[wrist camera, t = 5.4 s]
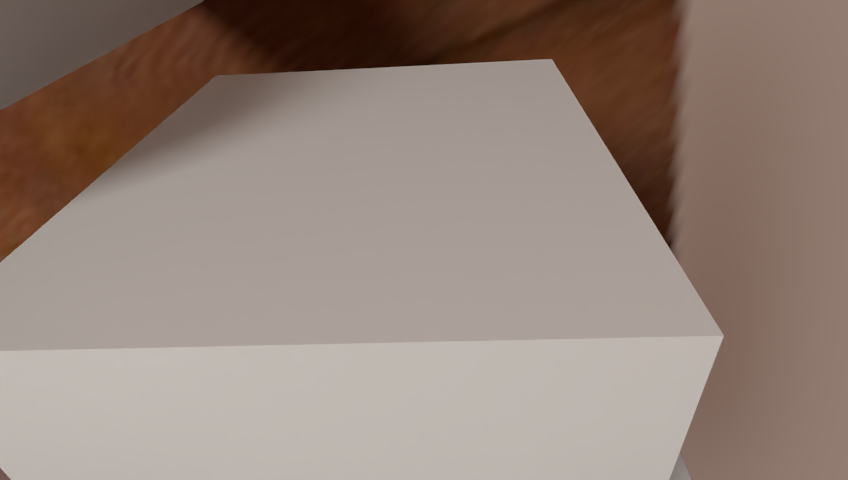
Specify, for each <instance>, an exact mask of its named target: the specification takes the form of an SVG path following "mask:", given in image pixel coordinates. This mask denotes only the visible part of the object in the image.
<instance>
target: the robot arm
mask: <svg viewBox="0 0 848 480" xmlns="http://www.w3.org/2000/svg"><path fill="white" fill-rule="evenodd" d="M669 480H692V477H691V475H690V473H689V471H688V468H687V466H686V463H685V461H684V459H683V456H682V454H681V452H680V453H679V455H678V458H677V461H676V463H675V466H674V469H673V471H672V474H671V476H670V479H669Z"/></svg>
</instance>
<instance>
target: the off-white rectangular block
mask: <svg viewBox="0 0 848 480" xmlns="http://www.w3.org/2000/svg"><path fill="white" fill-rule="evenodd" d="M723 337H724V335H723V334H722V332H721V330H720V329H719V327H718V325H717V324H716V322H715V321H714V319H713V317H712V316H711V314H710V312H709V311H708V309H707V308H706V306H705V305H704V303H703V301H702V300H701V298H700V296H699V295H698V293H697V292H696V290H695V289H694V287H693V285H692V284H691V282H690V281H689V279H688V277H687V276H686V274H685V272H684V271H683V269H682V268H681V266H680V264H679V263H678V261H677V260H676V258H675V256H674V255H673V253H672V251H671V250H670V248H669V247H668V245H667V243H666V242H665V240H664V239H663V237H662V235H661V234H660V232H659V231H658V229H657V227H656V226H655V224H654V223H653V221H652V219H651V218H650V216H649V215H648V213H647V211H646V210H645V208H644V207H643V205H642V203H641V202H640V200H639V199H638V197H637V195H636V194H635V192H634V190H633V189H632V187H631V186H630V184H629V182H628V181H627V179H626V178H625V176H624V174H623V173H622V171H621V170H620V168H619V166H618V165H617V163H616V162H615V160H614V158H613V157H612V155H611V154H610V152H609V150H608V149H607V147H606V146H605V144H604V142H603V141H602V139H601V138H600V136H599V134H598V133H597V131H596V129H595V128H594V126H593V125H592V123H591V121H590V120H589V118H588V117H587V115H586V113H585V112H584V110H583V109H582V107H581V105H580V104H579V102H578V101H577V99H576V97H575V96H574V94H573V93H572V91H571V89H570V88H569V86H568V85H567V83H566V81H565V80H564V78H563V77H562V75H561V73H560V72H559V70H558V68H557V67H556V65H555V64H554V62H553V60H552V59H543V60H523V61H503V62H483V63H463V64H443V65H423V66H403V67H384V68H364V69H344V70H324V71H304V72H284V73H264V74H245V75H225V76H215V77H214V78H213V79H212V80H211V81H209V82H208V83H207V84H206V85H205V86H204V87H203V88H201V89H200V90H199V91H198V92H197V93H196V94H194V95H193V96H192V97H191V98H190V99H189V100H188V101H186V102H185V103H184V104H183V105H182V106H181V107H179V108H178V109H177V110H176V111H175V112H174V113H173V114H171V115H170V116H169V117H168V118H167V119H166V120H164V121H163V122H162V123H161V124H160V125H159V126H158V127H156V128H155V129H154V130H153V131H152V132H151V133H149V134H148V135H147V136H146V137H145V138H144V139H143V140H141V141H140V142H139V143H138V144H137V145H136V146H134V147H133V148H132V149H131V150H130V151H129V152H127V153H126V154H125V155H124V156H123V157H122V158H121V159H119V160H118V161H117V162H116V163H115V164H114V165H112V166H111V167H110V168H109V169H108V170H107V171H106V172H104V173H103V174H102V175H101V176H100V177H99V178H97V179H96V180H95V181H94V182H93V183H92V184H91V185H89V186H88V187H87V188H86V189H85V190H84V191H82V192H81V193H80V194H79V195H78V196H77V197H76V198H74V199H73V200H72V201H71V202H70V203H69V204H67V205H66V206H65V207H64V208H63V209H62V210H61V211H59V212H58V213H57V214H56V215H55V216H54V217H52V218H51V219H50V220H49V221H48V222H47V223H46V224H44V225H43V226H42V227H41V228H40V229H39V230H37V231H36V232H35V233H34V234H33V235H32V236H31V237H29V238H28V239H27V240H26V241H25V242H24V243H22V244H21V245H20V246H19V247H18V248H17V249H16V250H14V251H13V252H12V253H11V254H10V255H9V256H7V257H6V258H5V259H4V260H3V261H2V262H1V263H0V468H1V469H2V470H3V471H4V472H5V473H6V474H7V475H8V476H9V478H10V479H11V480H669V479H670V476H671V474H672V471H673V469H674V466H675V463H676V461H677V458H678V455H679V453H680V450H681V448H682V445H683V442H684V439H685V437H686V434H687V432H688V429H689V426H690V424H691V421H692V419H693V416H694V413H695V411H696V408H697V405H698V403H699V400H700V397H701V395H702V392H703V390H704V387H705V384H706V382H707V379H708V376H709V374H710V371H711V369H712V366H713V363H714V361H715V358H716V355H717V353H718V350H719V348H720V345H721V342H722V340H723Z"/></svg>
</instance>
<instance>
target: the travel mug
mask: <svg viewBox="0 0 848 480" xmlns="http://www.w3.org/2000/svg"><path fill="white" fill-rule="evenodd" d="M203 1H205V0H0V110H2V109H4V108H6V107H8V106H9V105H11V104H13V103H15V102H17V101H19V100H21V99H22V98H24V97H26V96H28V95H30V94H32V93H34V92H35V91H37V90H39V89H41V88H43V87H45V86H47V85H48V84H50V83H52V82H54V81H56V80H58V79H60V78H62V77H63V76H65V75H67V74H69V73H71V72H73V71H75V70H76V69H78V68H80V67H82V66H84V65H86V64H88V63H89V62H91V61H93V60H95V59H97V58H99V57H101V56H102V55H104V54H106V53H108V52H110V51H112V50H114V49H115V48H117V47H119V46H121V45H123V44H125V43H127V42H129V41H130V40H132V39H134V38H136V37H138V36H140V35H142V34H143V33H145V32H147V31H149V30H151V29H153V28H155V27H156V26H158V25H160V24H162V23H164V22H166V21H168V20H169V19H171V18H173V17H175V16H177V15H179V14H181V13H182V12H184V11H186V10H188V9H190V8H192V7H194V6H196V5H197V4H199V3H201V2H203Z"/></svg>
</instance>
